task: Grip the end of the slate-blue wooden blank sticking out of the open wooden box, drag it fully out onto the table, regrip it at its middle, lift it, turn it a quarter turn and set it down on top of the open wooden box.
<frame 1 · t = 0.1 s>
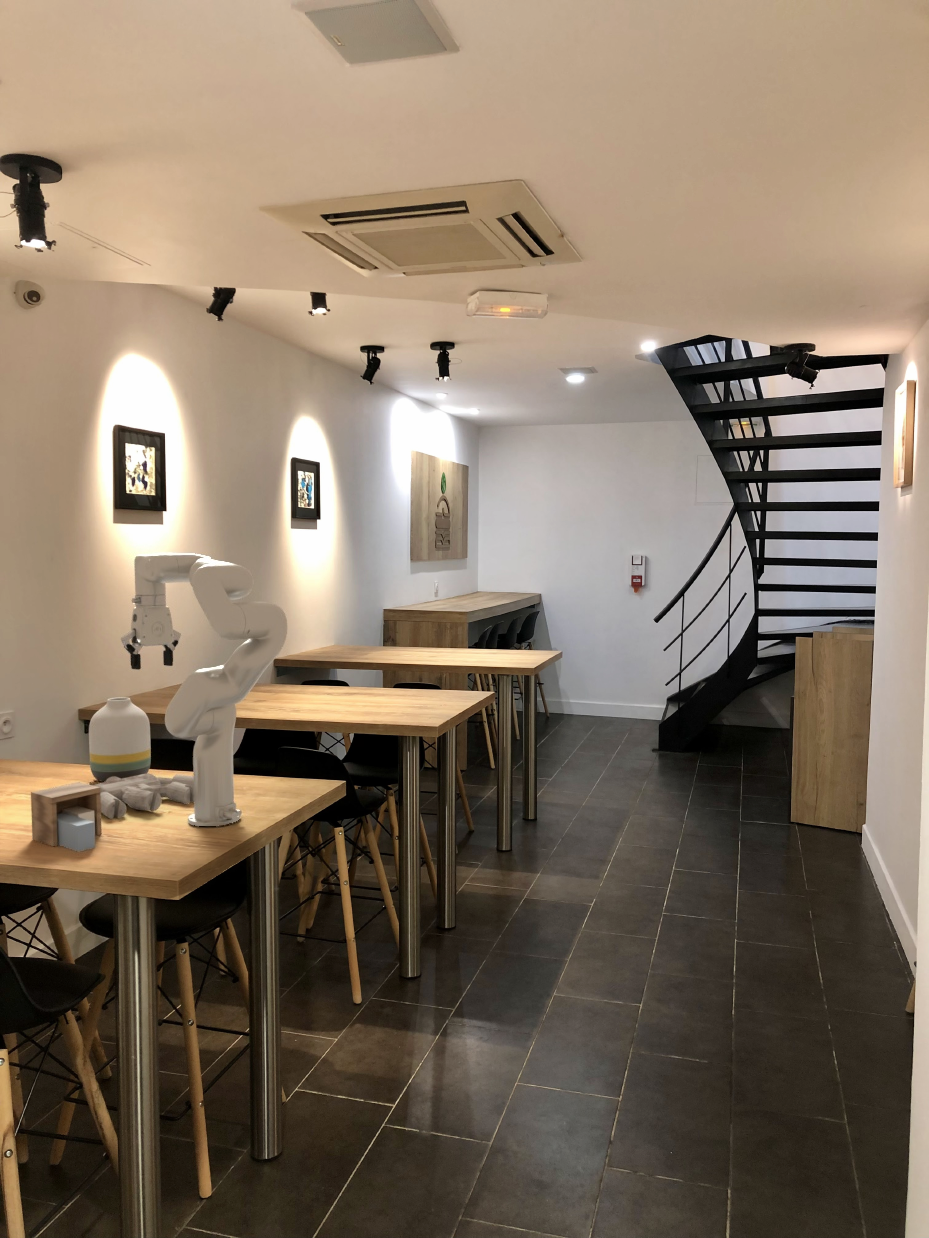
hand: (152, 667, 243), 37 cm above the table, tool pointing down, fingers open, 9 cm apart
open wooden box: (67, 836, 218), on the table
vase: (121, 780, 275), on the table
white branched piece: (135, 803, 250), on the table
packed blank: (78, 835, 219), on the table
blank: (71, 845, 212), on the table
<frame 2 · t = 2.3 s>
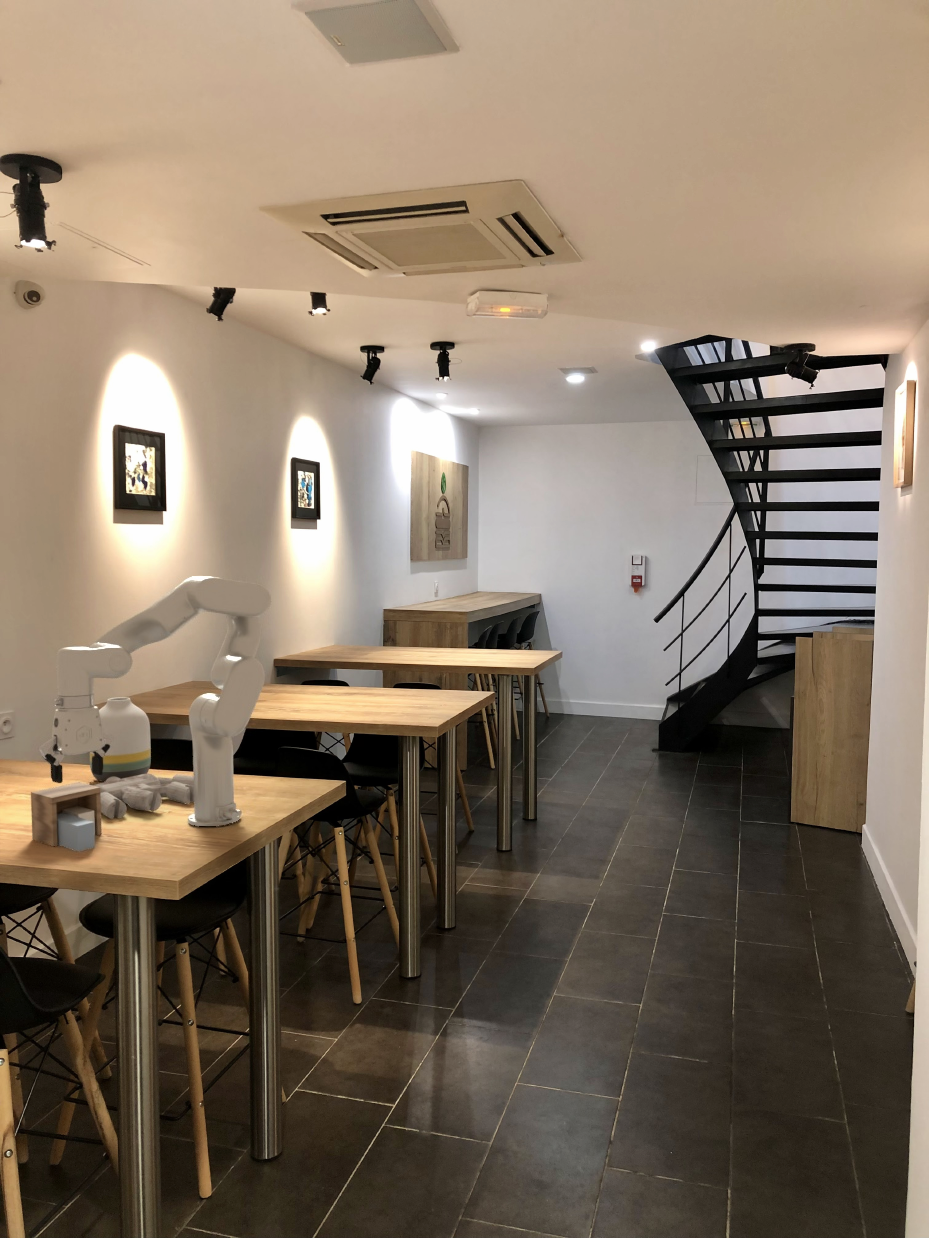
hand: (77, 778, 209), 16 cm above the table, tool pointing down, fingers open, 9 cm apart
nothing on the table moved.
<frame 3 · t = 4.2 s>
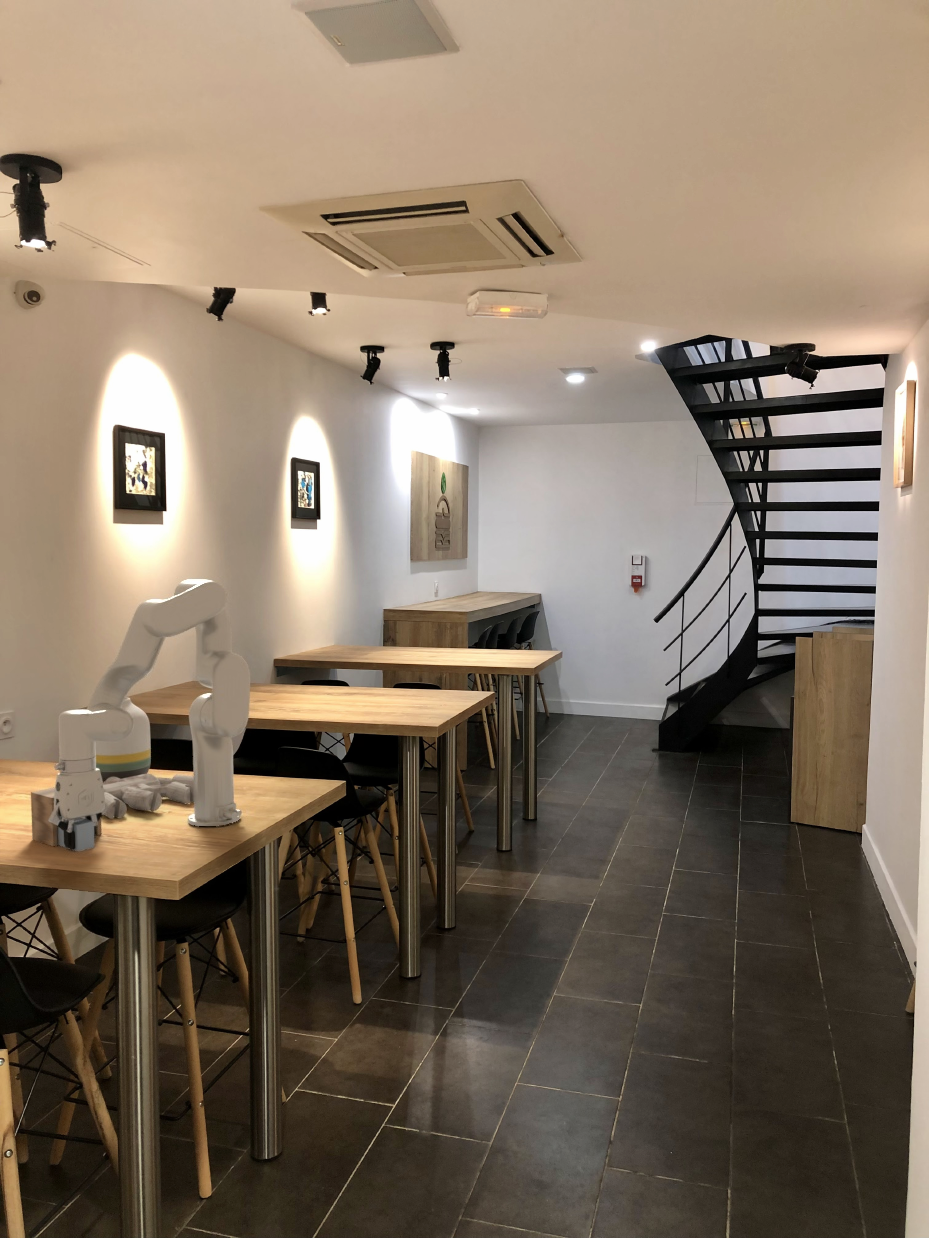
hand: (80, 844, 209), 1 cm above the table, tool pointing down, fingers closed on blank, 4 cm apart
blank: (70, 844, 212), on the table, touching gripper
everything else where it was.
when the fingers open (1 cm above the table, at t = 6.3 s): blank stays where it is, on the table.
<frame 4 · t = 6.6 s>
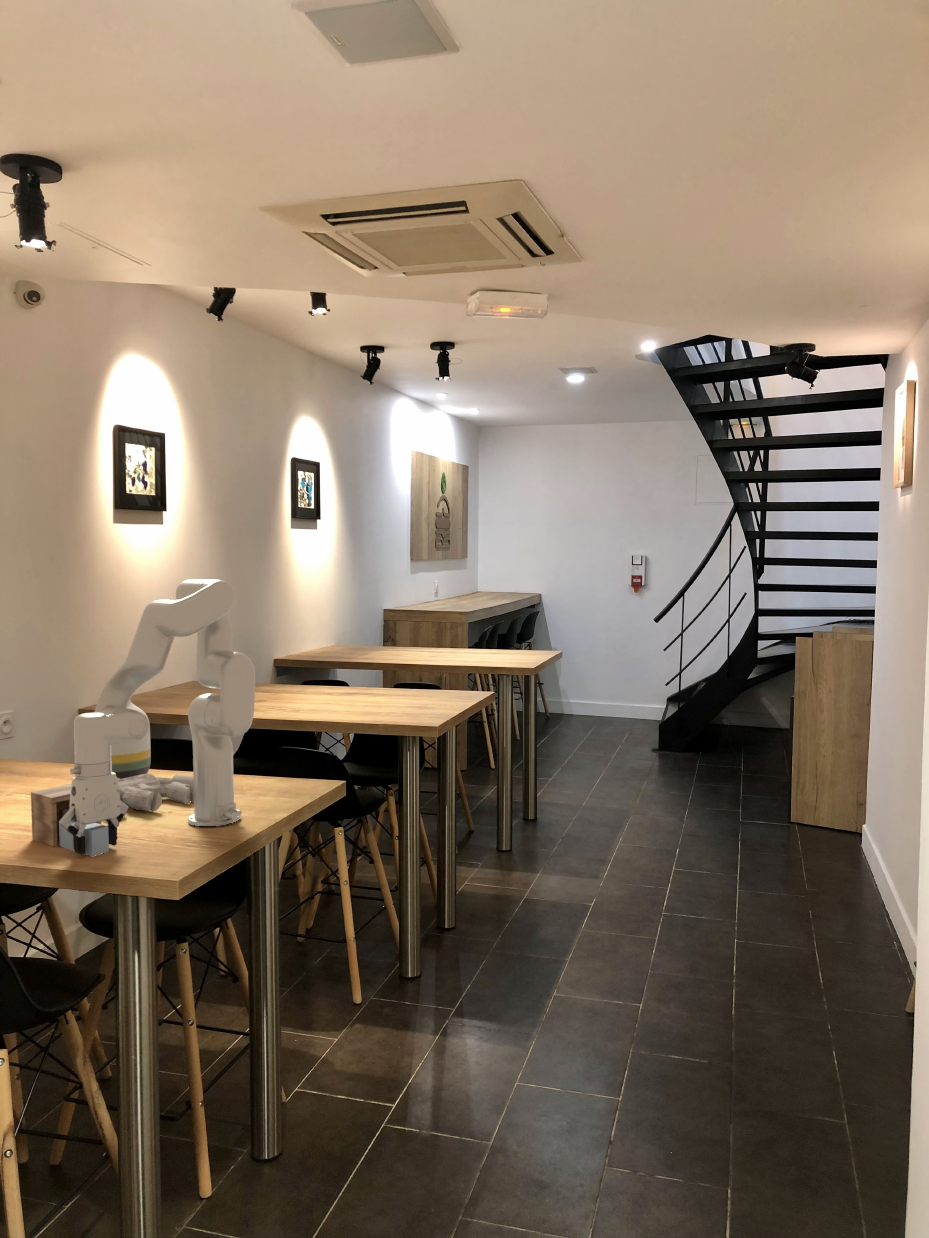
hand: (95, 847, 206), 1 cm above the table, tool pointing down, fingers open, 7 cm apart
blank: (84, 850, 208), on the table
everything else where it was.
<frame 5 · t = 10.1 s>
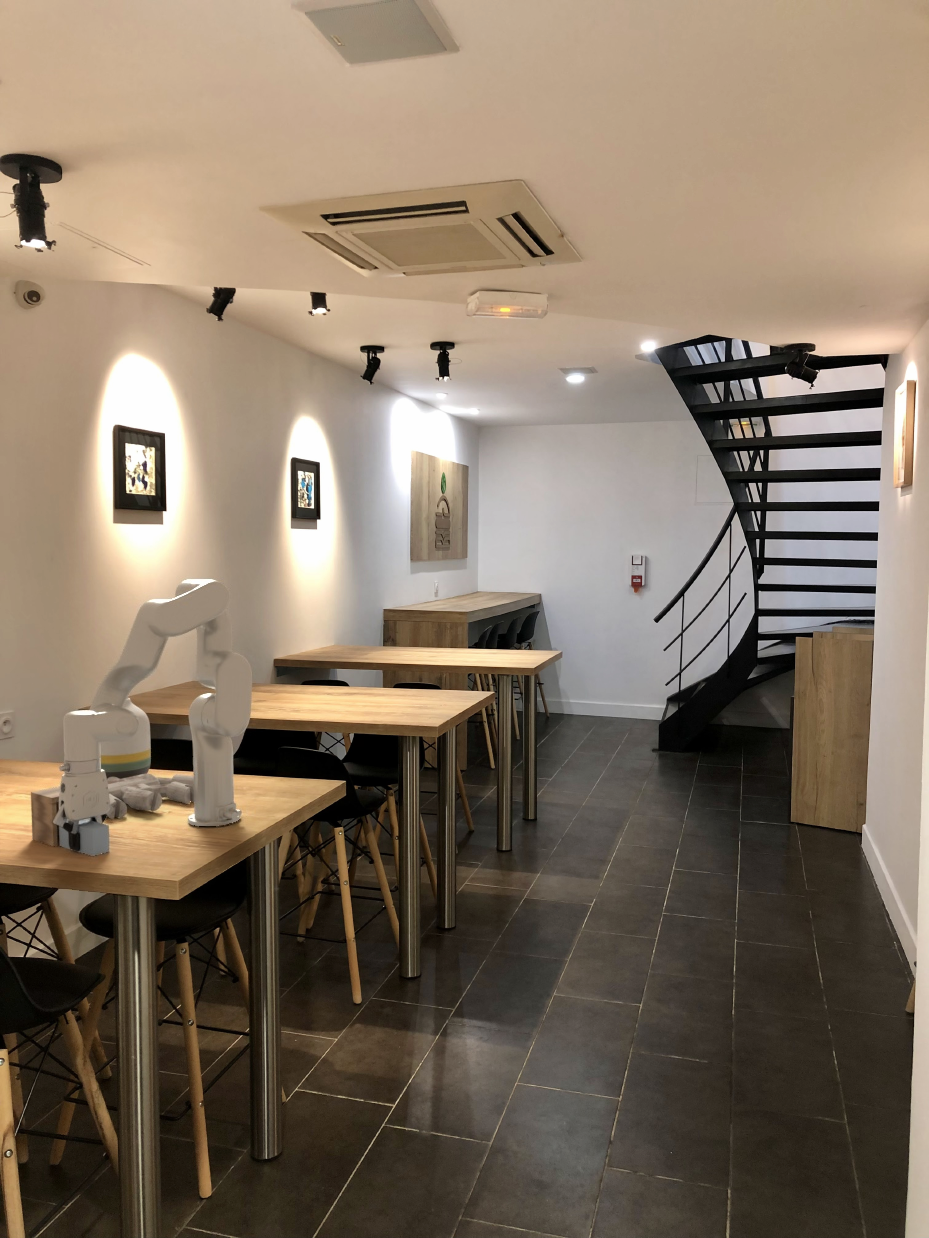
hand: (84, 846, 208), 1 cm above the table, tool pointing down, fingers closed on blank, 4 cm apart
blank: (84, 849, 208), on the table, touching gripper
everything else where it was.
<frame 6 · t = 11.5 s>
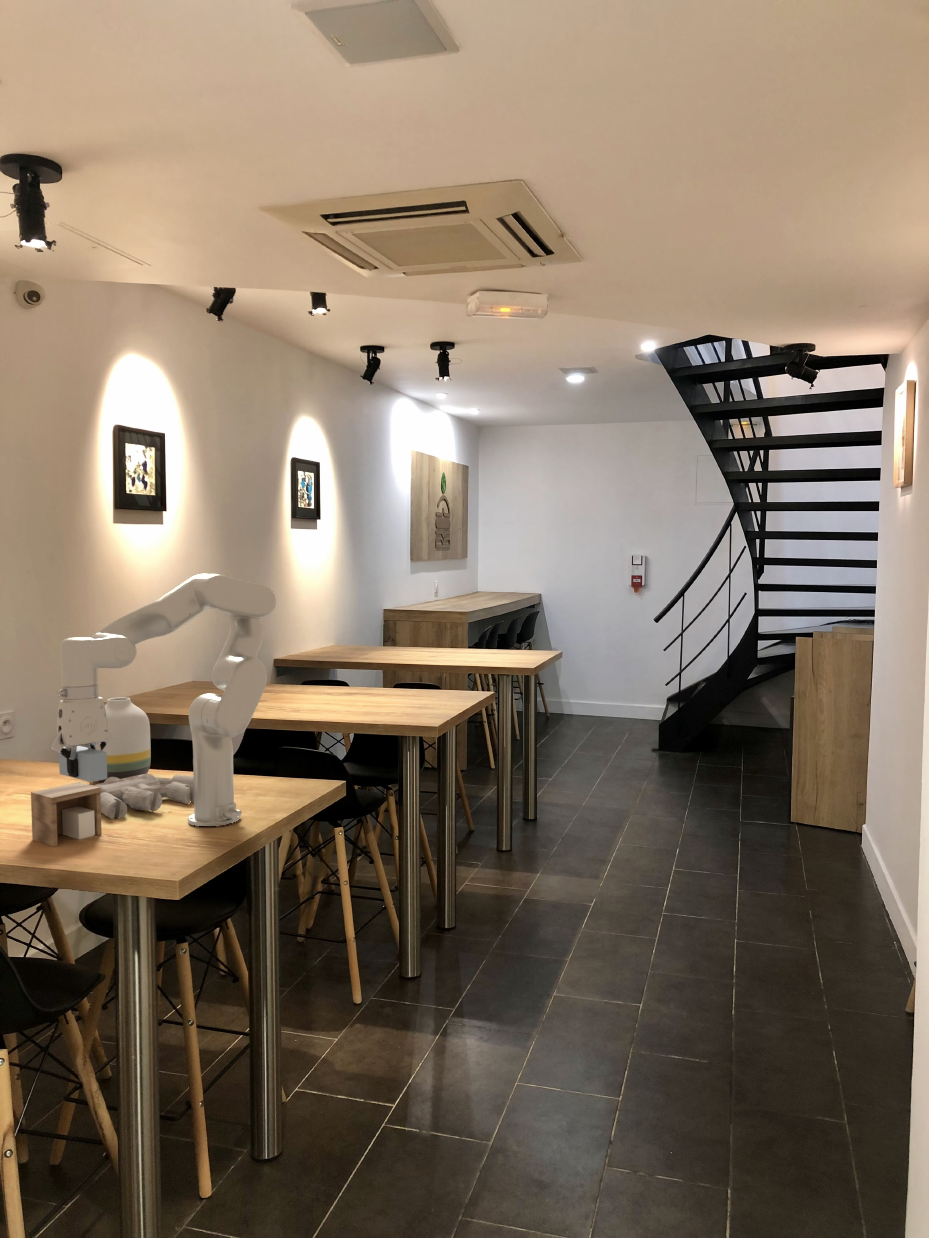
hand: (83, 773, 208), 17 cm above the table, tool pointing down, fingers closed on blank, 4 cm apart
blank: (83, 776, 208), point 16 cm above the table, touching gripper
everything else where it was.
when the fingers open (13 cm above the table, at t = 13.3 s): blank drops 1 cm, resting on open wooden box.
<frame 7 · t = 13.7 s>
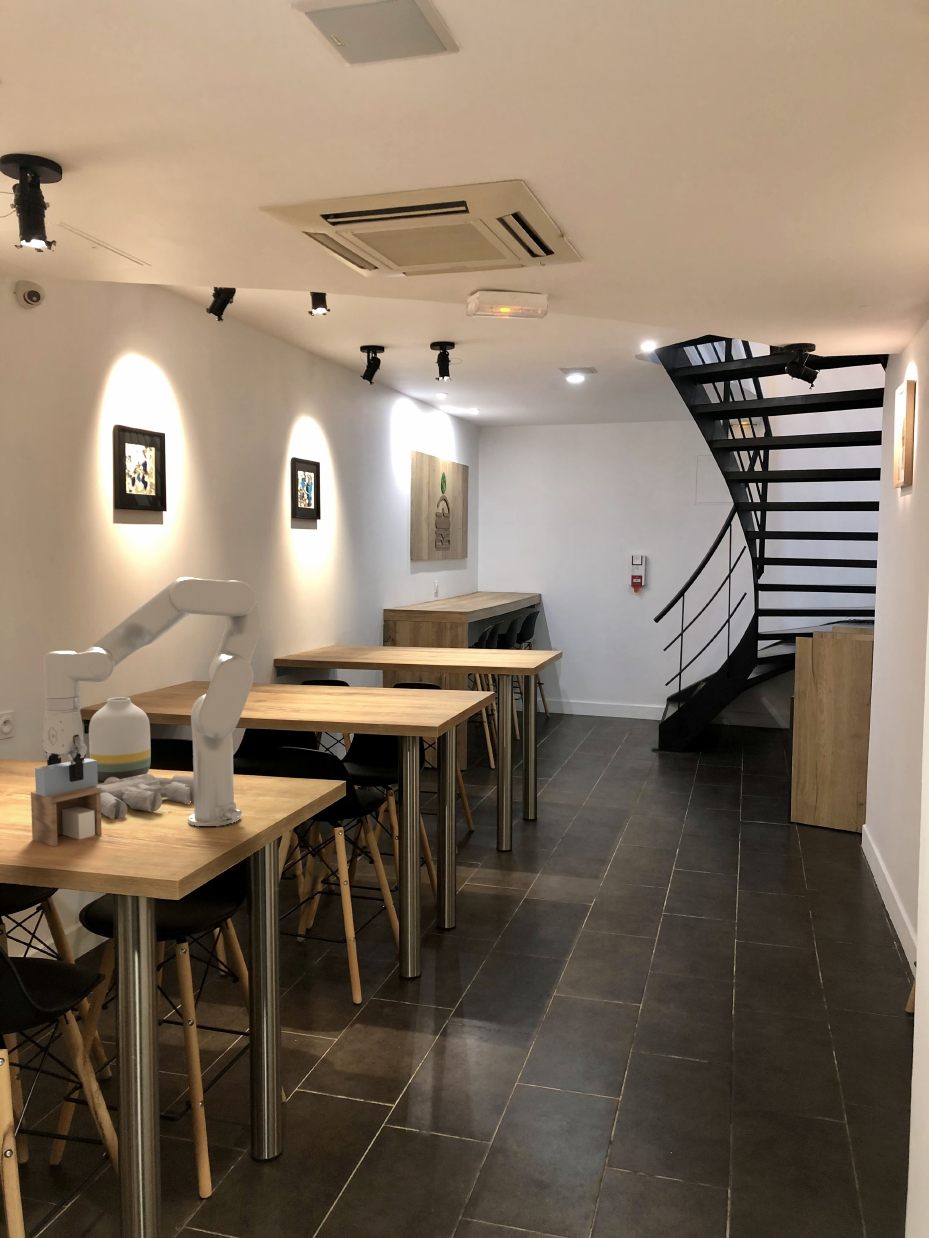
hand: (65, 777, 217), 14 cm above the table, tool pointing down, fingers open, 8 cm apart
blank: (67, 789, 217), point 11 cm above the table, touching open wooden box
everything else where it was.
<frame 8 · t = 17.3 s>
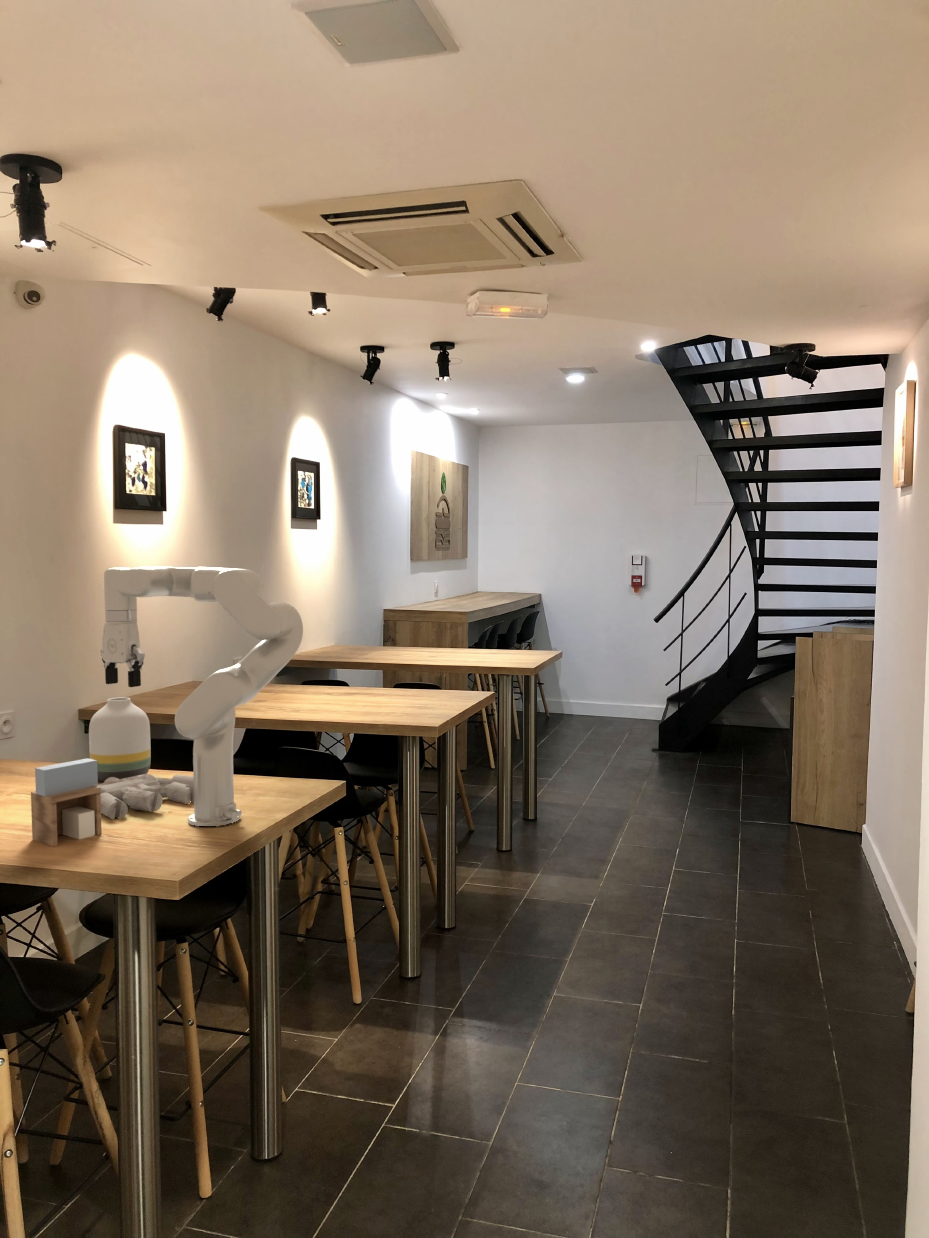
hand: (123, 685, 234), 33 cm above the table, tool pointing down, fingers open, 9 cm apart
nothing on the table moved.
at the end: blank inside the target area (0.4 cm from its centre), point 11.2 cm above the table; blank tilted 0°; the gripper is holding nothing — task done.
